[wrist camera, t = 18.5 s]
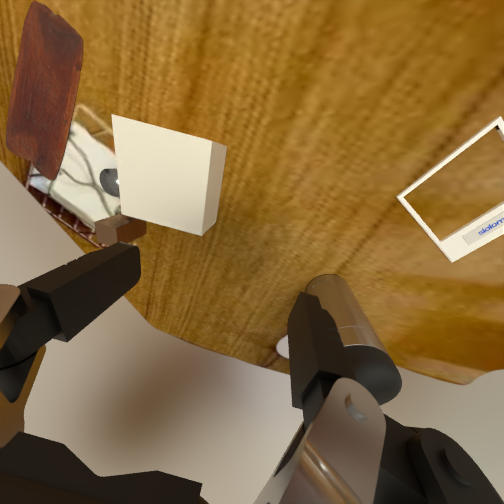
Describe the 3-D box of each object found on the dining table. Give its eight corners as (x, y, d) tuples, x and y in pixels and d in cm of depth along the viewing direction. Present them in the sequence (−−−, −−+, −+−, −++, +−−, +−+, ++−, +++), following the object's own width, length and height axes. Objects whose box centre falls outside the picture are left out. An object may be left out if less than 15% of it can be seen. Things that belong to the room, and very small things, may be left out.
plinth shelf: (215, 222, 37) (201, 235, 30) (151, 204, 38) (121, 214, 30) (227, 146, 31) (212, 141, 24) (149, 125, 31) (111, 114, 24)
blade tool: (146, 233, 41) (118, 247, 34) (129, 228, 41) (97, 241, 34) (143, 146, 33) (106, 141, 26) (122, 140, 33) (79, 133, 26)
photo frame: (453, 262, 34) (397, 197, 31) (448, 260, 35) (394, 196, 32) (555, 205, 28) (502, 116, 25) (546, 204, 29) (493, 117, 26)
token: (130, 169, 35) (120, 169, 33) (136, 195, 37) (127, 197, 35) (106, 167, 36) (96, 167, 33) (114, 193, 38) (104, 195, 36)
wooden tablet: (59, 183, 39) (51, 184, 37) (12, 149, 37) (1, 148, 35) (96, 47, 28) (86, 41, 26) (32, -13, 26) (17, -23, 24)
